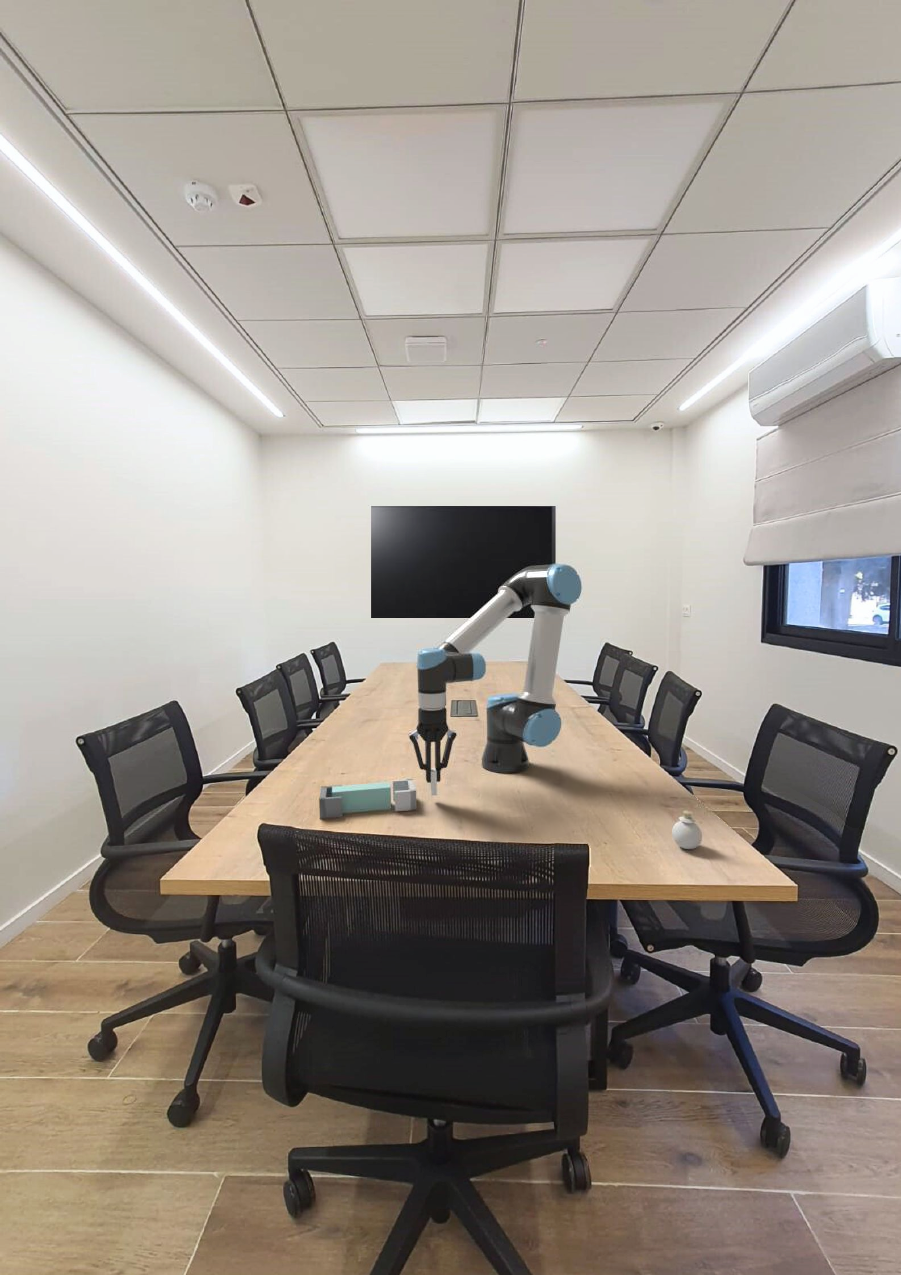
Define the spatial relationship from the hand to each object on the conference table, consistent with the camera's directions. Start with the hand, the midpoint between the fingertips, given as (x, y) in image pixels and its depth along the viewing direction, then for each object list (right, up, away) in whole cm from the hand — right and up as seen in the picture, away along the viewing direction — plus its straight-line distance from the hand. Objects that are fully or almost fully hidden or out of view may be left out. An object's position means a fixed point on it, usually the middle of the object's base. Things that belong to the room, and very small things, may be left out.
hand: (433, 793), depth 145 cm
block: (-19, -3, -3) cm, 19 cm away
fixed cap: (-26, -3, -4) cm, 27 cm away
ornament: (+57, -5, -26) cm, 63 cm away
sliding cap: (-7, -3, -1) cm, 8 cm away
